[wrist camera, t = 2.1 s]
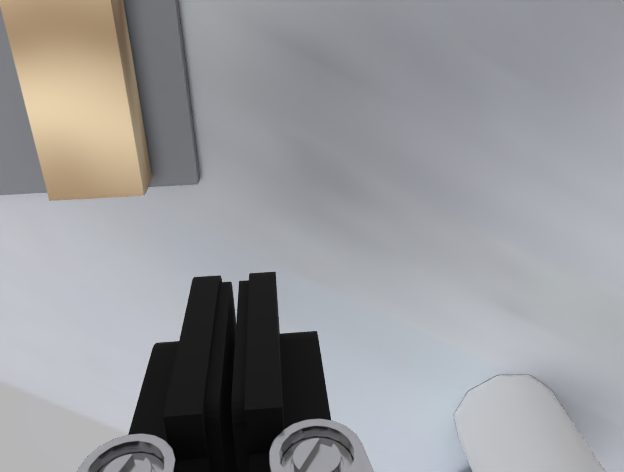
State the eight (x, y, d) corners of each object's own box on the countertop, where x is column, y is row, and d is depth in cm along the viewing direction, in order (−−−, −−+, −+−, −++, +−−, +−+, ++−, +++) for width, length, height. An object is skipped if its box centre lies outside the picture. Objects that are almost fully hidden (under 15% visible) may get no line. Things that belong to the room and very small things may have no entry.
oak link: (-33, -227, 19) (-89, -263, 16) (85, -229, 20) (52, -265, 16) (64, 184, 26) (37, 213, 23) (152, 179, 26) (137, 207, 23)
